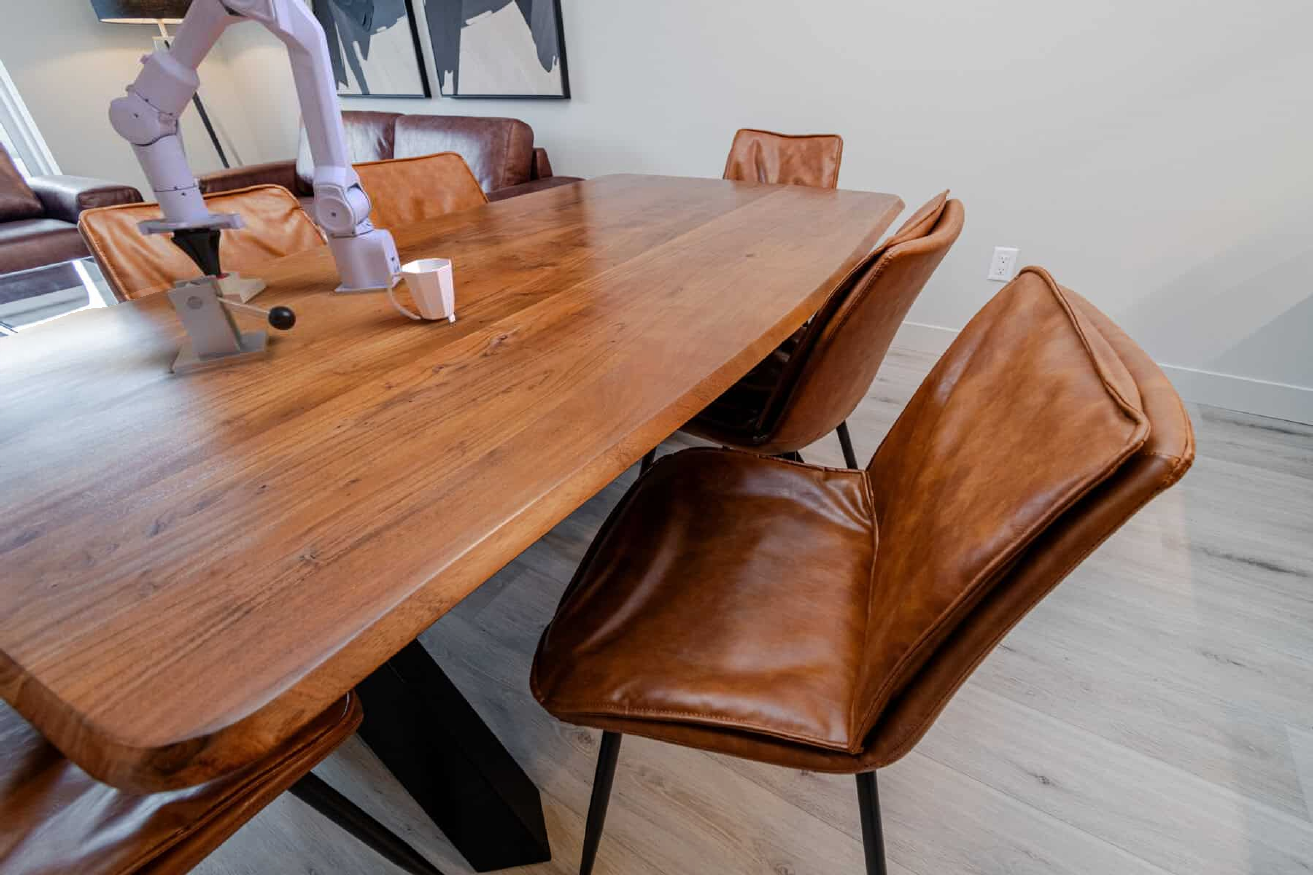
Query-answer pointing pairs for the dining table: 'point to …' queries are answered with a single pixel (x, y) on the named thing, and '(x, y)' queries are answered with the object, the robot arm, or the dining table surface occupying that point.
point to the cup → (427, 288)
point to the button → (222, 276)
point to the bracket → (210, 327)
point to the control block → (239, 287)
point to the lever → (261, 312)
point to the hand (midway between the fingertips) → (214, 276)
